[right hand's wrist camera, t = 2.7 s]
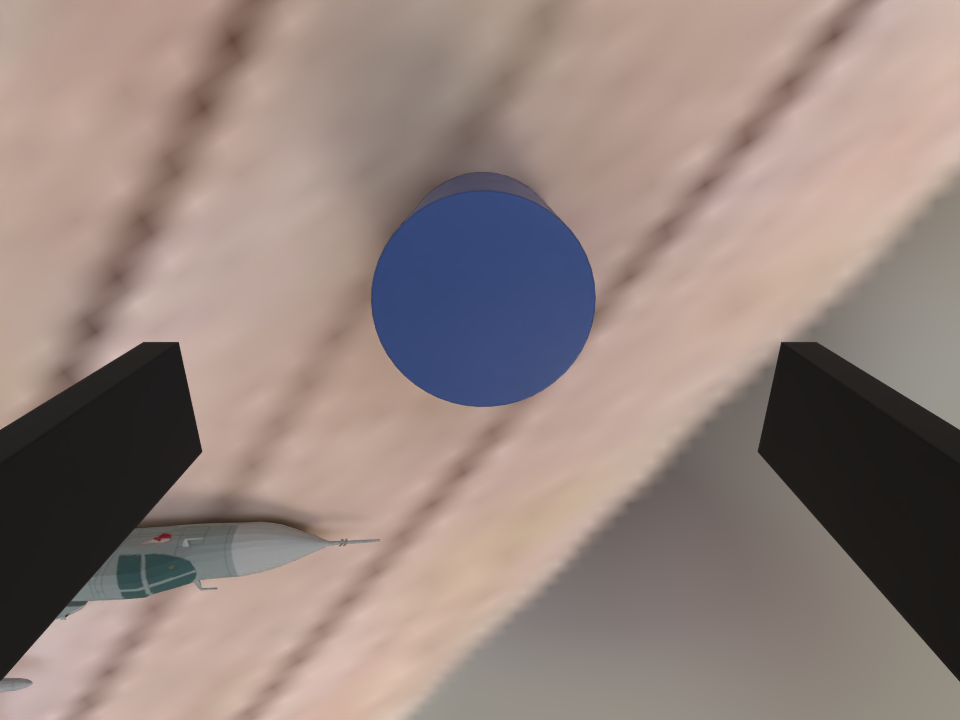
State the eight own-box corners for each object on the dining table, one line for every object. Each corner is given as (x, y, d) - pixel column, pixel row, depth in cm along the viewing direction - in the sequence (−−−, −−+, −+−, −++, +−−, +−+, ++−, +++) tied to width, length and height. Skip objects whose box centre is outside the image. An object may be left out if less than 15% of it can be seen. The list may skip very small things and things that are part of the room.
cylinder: (403, 168, 26) (366, 184, 17) (568, 176, 26) (610, 195, 17) (404, 324, 29) (373, 403, 20) (552, 330, 29) (582, 411, 20)
